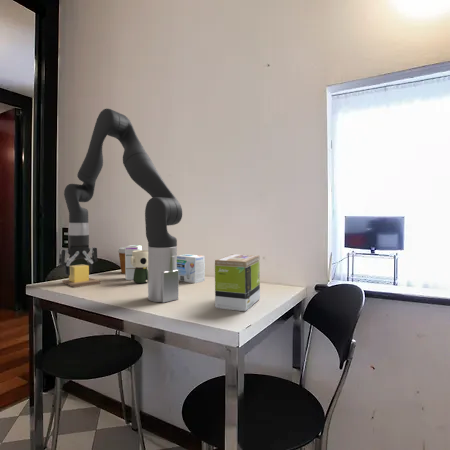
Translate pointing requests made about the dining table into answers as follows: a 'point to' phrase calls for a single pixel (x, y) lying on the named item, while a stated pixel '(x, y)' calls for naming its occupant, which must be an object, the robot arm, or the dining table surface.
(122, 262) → the disposable coffee cup
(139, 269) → the character mug
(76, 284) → the post block
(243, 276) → the tea box
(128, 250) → the syrup box
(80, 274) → the yellow cube
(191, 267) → the light bulb box
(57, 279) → the dining table surface
